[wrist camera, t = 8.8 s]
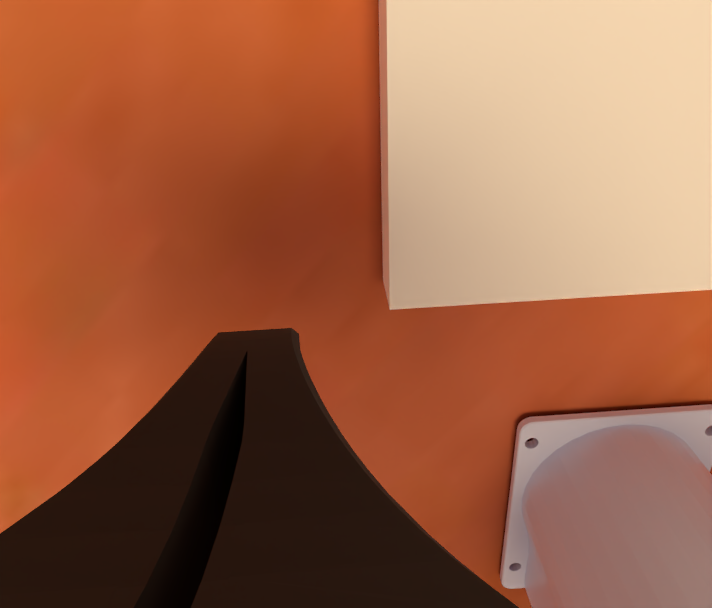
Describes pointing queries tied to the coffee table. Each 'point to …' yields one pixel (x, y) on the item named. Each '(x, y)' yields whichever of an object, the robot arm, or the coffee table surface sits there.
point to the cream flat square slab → (544, 149)
